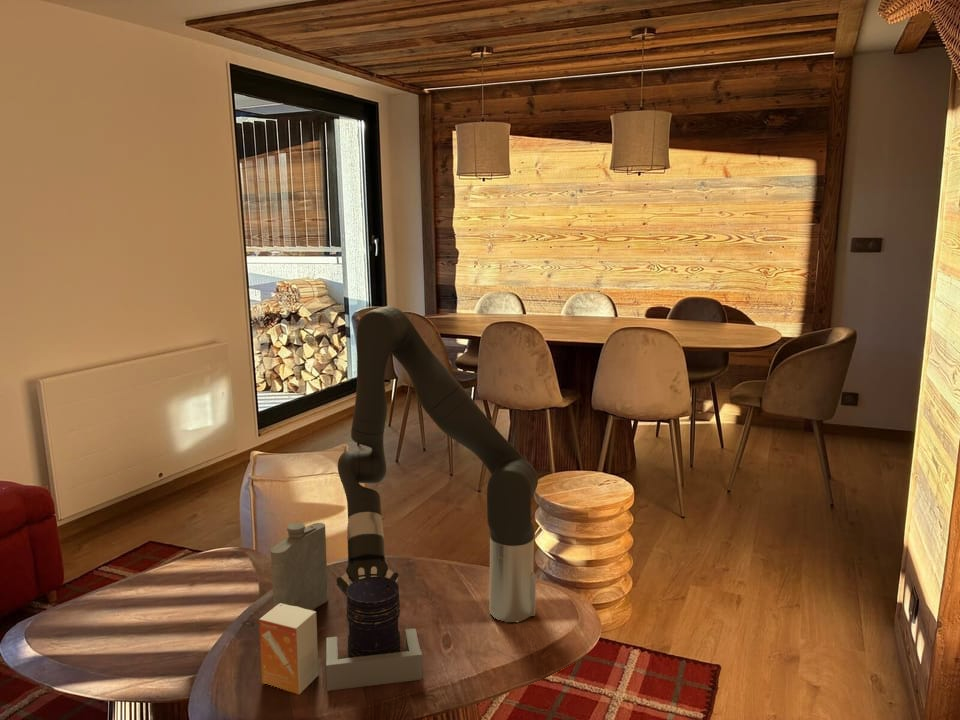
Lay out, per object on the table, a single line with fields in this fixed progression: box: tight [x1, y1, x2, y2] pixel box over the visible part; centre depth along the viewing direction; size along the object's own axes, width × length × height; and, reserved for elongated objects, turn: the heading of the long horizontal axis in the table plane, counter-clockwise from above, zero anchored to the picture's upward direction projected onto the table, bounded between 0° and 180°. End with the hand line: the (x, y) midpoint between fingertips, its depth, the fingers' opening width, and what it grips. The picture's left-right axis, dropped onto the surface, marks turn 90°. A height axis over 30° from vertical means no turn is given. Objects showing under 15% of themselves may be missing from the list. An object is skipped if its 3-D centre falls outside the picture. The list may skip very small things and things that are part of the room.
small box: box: [258, 603, 319, 695], centre depth 131 cm, size 8×6×13 cm
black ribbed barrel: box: [345, 576, 401, 658], centre depth 137 cm, size 10×10×15 cm
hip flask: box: [270, 521, 329, 611], centre depth 153 cm, size 16×4×20 cm, turn 156°
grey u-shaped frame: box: [325, 628, 423, 692], centre depth 136 cm, size 17×10×5 cm, turn 102°
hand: (369, 624), depth 142 cm, fingers closed
